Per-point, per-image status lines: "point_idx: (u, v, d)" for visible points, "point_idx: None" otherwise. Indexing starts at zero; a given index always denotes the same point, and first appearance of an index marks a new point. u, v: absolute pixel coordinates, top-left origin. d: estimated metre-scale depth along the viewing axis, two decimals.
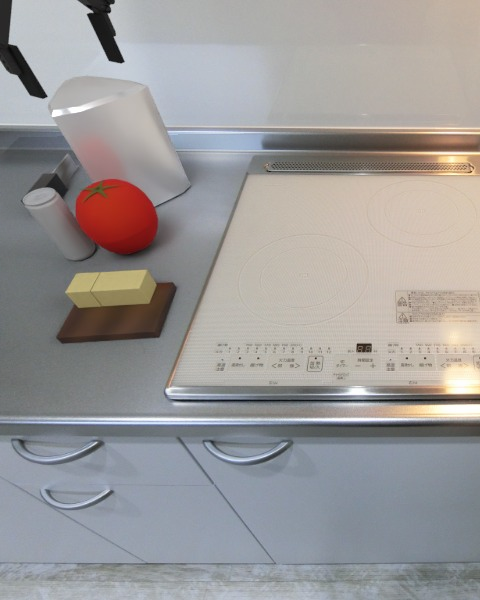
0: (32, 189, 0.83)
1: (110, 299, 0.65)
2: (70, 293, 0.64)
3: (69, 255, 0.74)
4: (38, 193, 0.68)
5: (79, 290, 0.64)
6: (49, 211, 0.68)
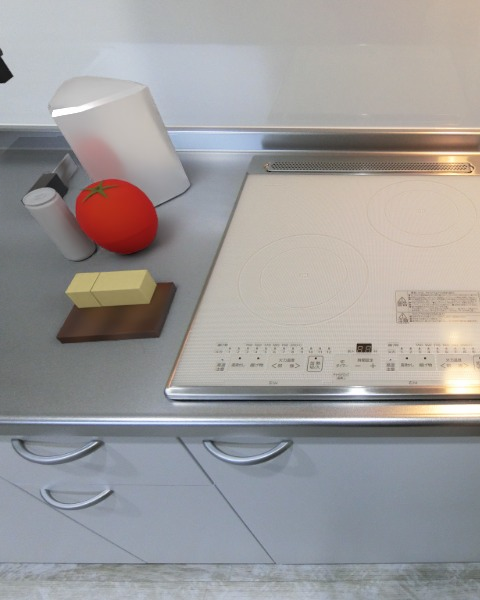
0: (32, 189, 0.83)
1: (110, 299, 0.65)
2: (70, 293, 0.64)
3: (69, 255, 0.74)
4: (38, 193, 0.68)
5: (79, 290, 0.64)
6: (49, 211, 0.68)
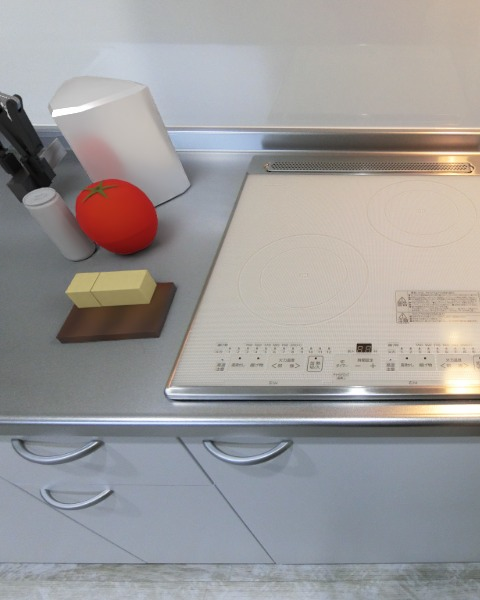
0: (19, 173, 0.80)
1: (110, 299, 0.65)
2: (70, 293, 0.64)
3: (69, 255, 0.74)
4: (38, 193, 0.68)
5: (79, 290, 0.64)
6: (49, 211, 0.68)
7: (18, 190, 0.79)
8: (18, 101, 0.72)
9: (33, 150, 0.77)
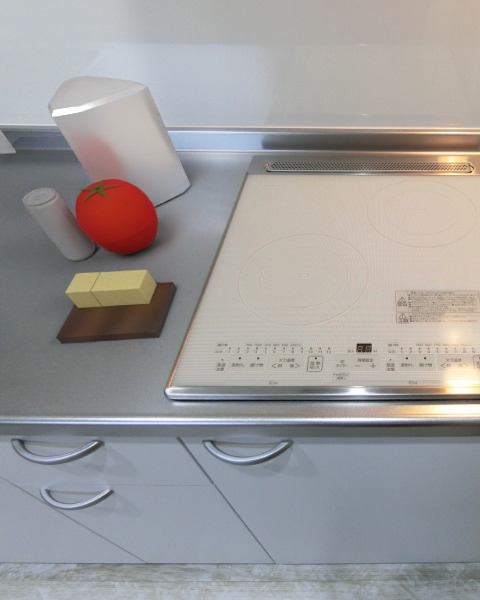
0: None
1: (110, 299, 0.65)
2: (70, 293, 0.64)
3: (69, 255, 0.74)
4: (38, 193, 0.68)
5: (79, 290, 0.64)
6: (49, 211, 0.68)
7: None
8: None
9: None
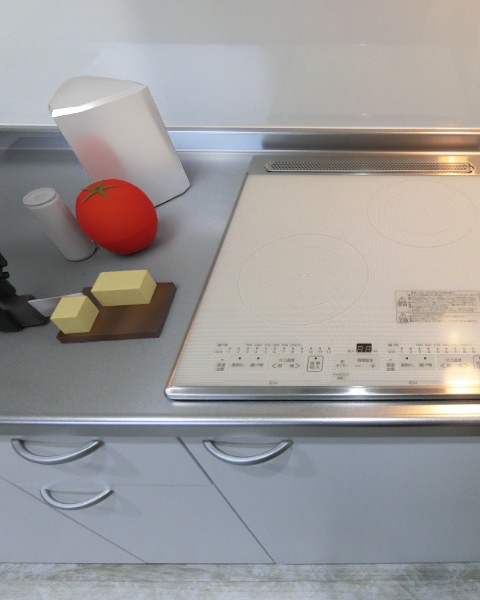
0: None
1: (110, 299, 0.65)
2: (55, 319, 0.61)
3: (69, 255, 0.74)
4: (38, 193, 0.68)
5: (65, 316, 0.61)
6: (49, 211, 0.68)
7: None
8: None
9: None
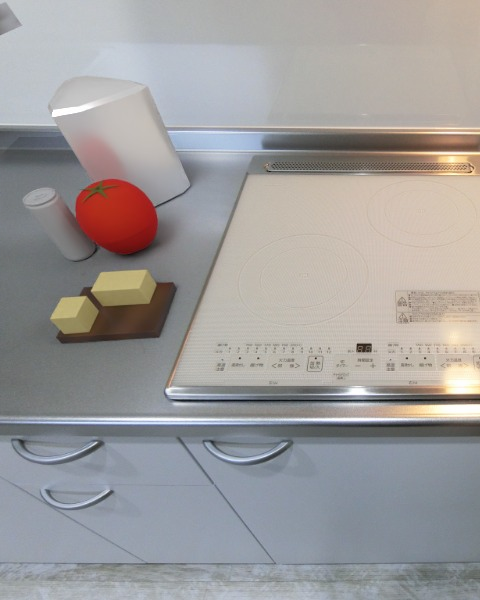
0: None
1: (110, 299, 0.65)
2: (55, 319, 0.60)
3: (69, 255, 0.74)
4: (38, 193, 0.68)
5: (64, 316, 0.61)
6: (49, 211, 0.68)
7: None
8: None
9: None
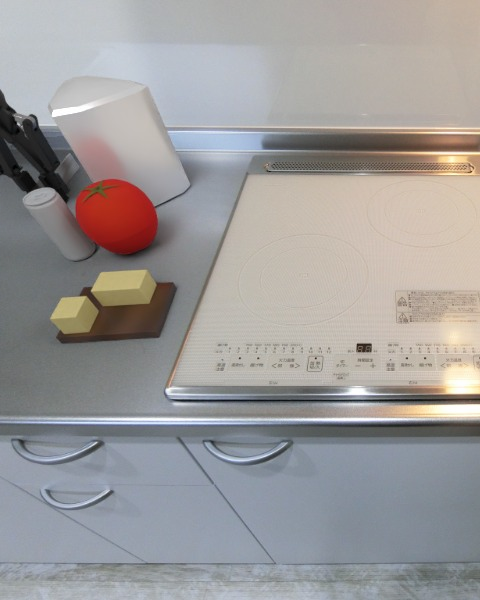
0: (34, 189, 0.83)
1: (110, 299, 0.65)
2: (55, 319, 0.60)
3: (69, 255, 0.74)
4: (38, 193, 0.68)
5: (64, 316, 0.61)
6: (49, 211, 0.68)
7: None
8: (33, 120, 0.74)
9: (50, 167, 0.79)
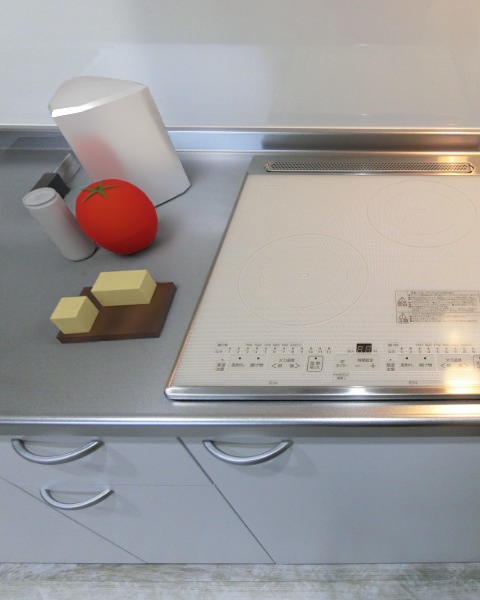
0: (34, 189, 0.83)
1: (110, 299, 0.65)
2: (55, 319, 0.60)
3: (69, 255, 0.74)
4: (38, 193, 0.68)
5: (64, 316, 0.61)
6: (49, 211, 0.68)
7: None
8: None
9: None
